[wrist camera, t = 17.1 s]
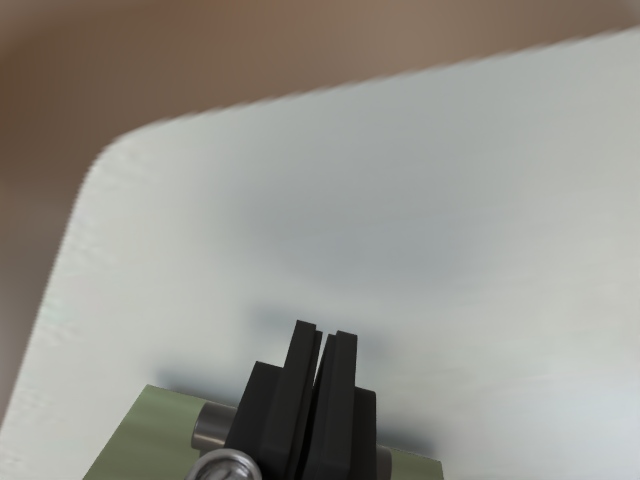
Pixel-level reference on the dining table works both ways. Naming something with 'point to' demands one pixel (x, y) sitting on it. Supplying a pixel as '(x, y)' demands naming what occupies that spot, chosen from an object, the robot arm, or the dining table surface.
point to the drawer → (202, 441)
